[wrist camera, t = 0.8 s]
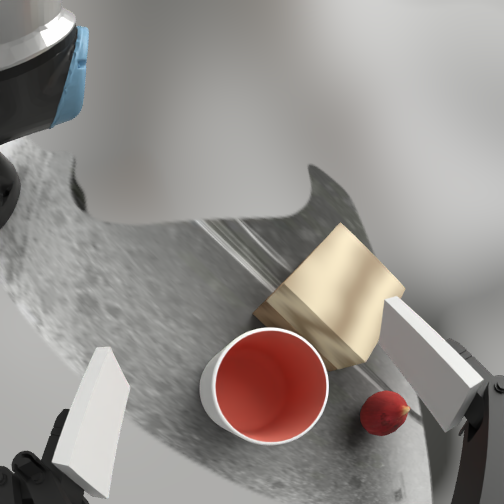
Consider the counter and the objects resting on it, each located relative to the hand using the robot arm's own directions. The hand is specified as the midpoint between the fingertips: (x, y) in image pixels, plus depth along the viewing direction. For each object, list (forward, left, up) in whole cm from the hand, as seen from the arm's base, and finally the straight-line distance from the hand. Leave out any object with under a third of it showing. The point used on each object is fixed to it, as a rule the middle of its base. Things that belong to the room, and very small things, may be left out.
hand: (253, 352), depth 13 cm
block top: (+4, +15, -15) cm, 22 cm away
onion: (+19, +10, -20) cm, 29 cm away
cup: (+4, +2, -20) cm, 20 cm away
